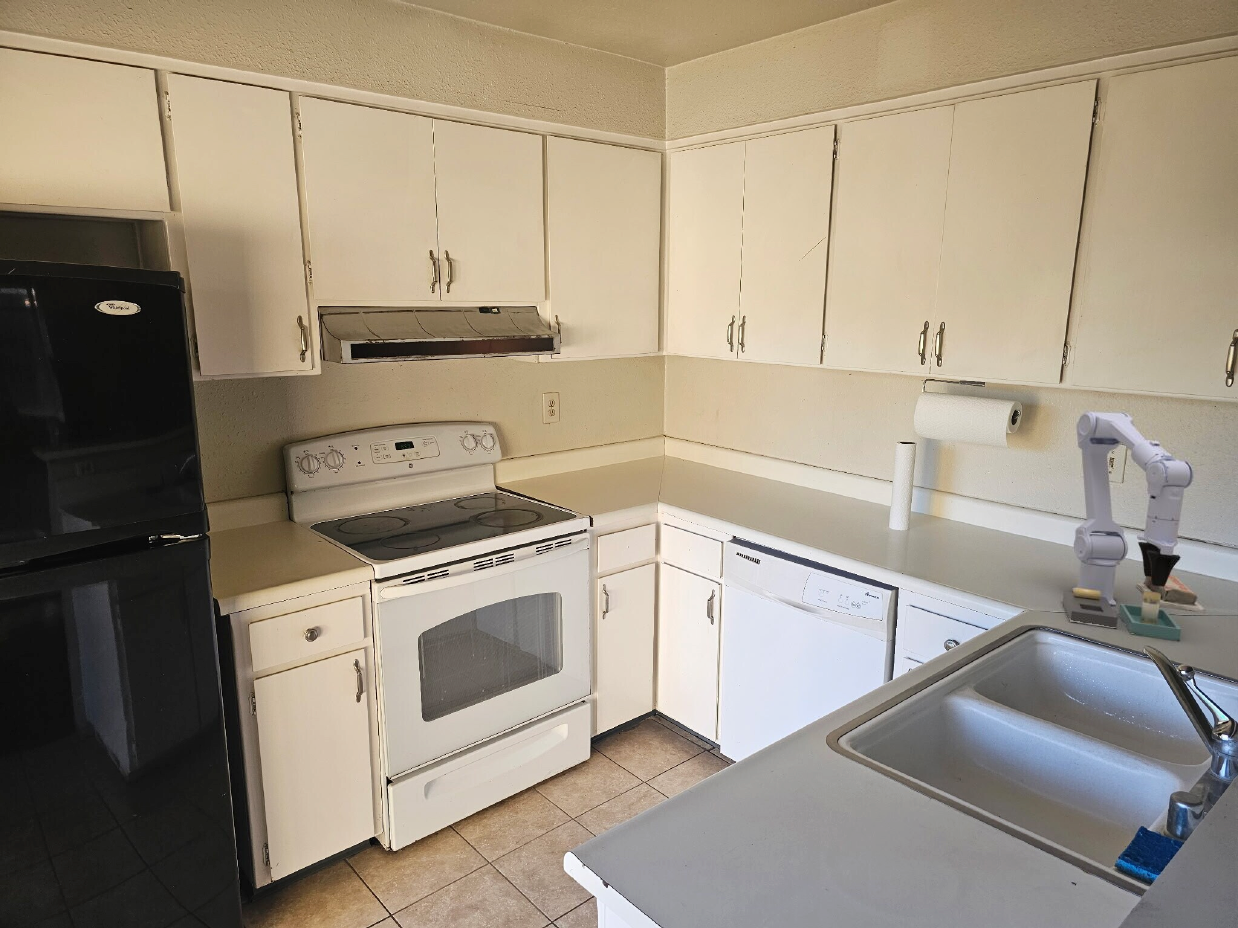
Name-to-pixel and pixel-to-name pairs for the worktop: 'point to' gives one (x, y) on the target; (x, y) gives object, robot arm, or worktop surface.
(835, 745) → the worktop surface
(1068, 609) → the fuse board
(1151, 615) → the cylinder
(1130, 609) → the parts tray
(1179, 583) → the packaged product
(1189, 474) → the robot arm
